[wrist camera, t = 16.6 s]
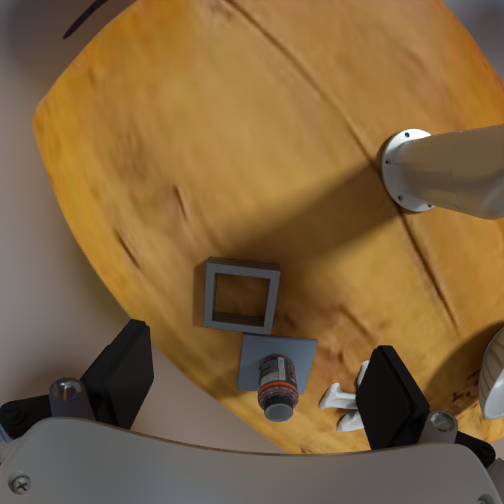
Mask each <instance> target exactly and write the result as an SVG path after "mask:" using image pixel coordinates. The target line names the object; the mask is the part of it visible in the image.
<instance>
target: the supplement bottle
mask: <svg viewBox="0 0 504 504" xmlns="http://www.w3.org/2000/svg"><path fill="white" fill-rule="evenodd" d="M258 403H259V405H260V407H261V408H262V409H263V410H264V414H265V417H266V418H267V419H269V420H270V421H274V422H282V421H286V420H288V419H289V418H291V416H292V415H293V408H294V407H295V406H296V405H297V403H298V389H297V382H296V375H295V367H294V364H293V362H292V360H291V359H290V358H288V357H287V356H284V355H279V354H275V355H270V356H268V357H266V358H265V359H264V360H262V362H261V364H260V366H259V380H258Z"/></svg>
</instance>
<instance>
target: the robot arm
mask: <svg viewBox="0 0 504 504" xmlns="http://www.w3.org/2000/svg"><path fill="white" fill-rule="evenodd" d="M405 135H406V137H405ZM386 161H387V164H386ZM381 174H382V180H383V182H384V185H385V188H386V190H387V192H388V193H389V195H390V196H391V198H392V199H393V200H394V201H395V202H396V203H397V204H398V205H400V206H401V207H403V208H405V209H407V210H410V211H415V212H424V211H428V210H430V209H432V208H434V207H436V206H437V207H441V208H445V209H449V210H453V211H457V212H460V213H464V214H468V215H471V216H475V217H479V218H482V219H487V220H496V219H500V218H503V217H504V124H501V125H496V126H490V127H484V128H477V129H470V130H463V131H456V132H449V133H443V134H437V135H431V134H429V133H428V132H425V131H423V130H420V129H406V130H403V131H400V132H398V133H397V134H395V135H394V136H392V138H391V139H390V140H389V141H388V142H387V144H386V146H385V148H384V151H383V154H382V159H381ZM398 196H399V199H398ZM427 204H428V205H427ZM153 379H154V373H153V363H152V352H151V339H150V327H149V326H147V325H146V323H145V322H144V321H140V320H135V319H131V320H130V321H129V322H128V324H127V325H126V326H125V327H124V328H123V330H122V331H121V332H120V333H119V334H118V336H117V337H116V338H115V339H114V340H113V342H112V343H111V344H110V345H108V346H106V348H105V349H104V350H103V351H102V352H101V354H100V355H99V356H98V357H97V359H96V360H95V361H94V363H92V365H91V366H90V367H89V369H88V370H87V371H86V372H85V374H84V375H83V376H82V377H81V378H80V380H78V379H76V378H72V377H63V378H60V379H57V380H56V381H54V382H53V383H52V384H51V385H50V387H49V394H48V395H43V396H38V397H33V398H27V399H22V400H16V401H10V402H7V403H5V404H3V405H2V406H1V408H0V504H504V460H502V459H501V458H498V459H497V460H496V459H495V456H496V454H495V451H494V449H493V447H492V446H491V445H490V444H488V443H487V442H484V441H482V440H479V439H477V438H474V437H472V436H469V435H467V434H464V433H462V432H460V431H457V429H458V422H457V420H456V418H455V417H454V416H453V415H452V414H451V413H449V412H447V411H444V410H435V411H432V412H430V410H429V407H430V405H429V403H428V402H427V400H426V398H425V397H424V395H423V393H422V392H421V390H420V389H419V387H418V385H417V384H416V382H415V381H414V379H413V377H412V376H411V374H410V373H409V371H408V369H407V368H406V366H405V365H404V363H403V362H402V360H401V359H400V357H399V356H398V354H397V353H396V351H395V350H394V348H393V347H392V346H390V345H380V346H378V347H377V349H374V350H373V352H372V355H371V358H370V360H369V363H368V366H367V368H366V371H365V373H364V376H363V378H362V381H361V383H360V386H359V388H358V391H357V393H356V396H355V402H356V405H357V408H358V411H359V414H360V417H361V420H362V423H363V426H364V429H365V432H366V435H367V438H368V441H369V444H370V447H371V450H367V451H357V452H345V453H326V454H278V453H259V452H247V451H236V450H228V449H220V448H212V447H205V446H200V445H194V444H188V443H183V442H178V441H173V440H168V439H164V438H159V437H155V436H151V435H147V434H143V433H139V432H135V431H132V430H130V428H131V426H132V424H133V422H134V420H135V418H136V416H137V414H138V411H139V410H140V407H141V405H142V403H143V401H144V399H145V397H146V395H147V393H148V391H149V389H150V387H151V385H152V383H153Z"/></svg>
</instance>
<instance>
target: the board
mask: <svg viewBox="0 0 504 504" xmlns="http://www.w3.org/2000/svg"><path fill="white" fill-rule="evenodd" d="M317 343H318V340H317V339H303V338H290V337H279V336H268V335H258V334H249V333H244V335H243V344H242V353H241V362H240V370H239V379H238V388H237V389H241V390H250V391H258V380H259V366H260V364H261V362H262V360H264V359H265V358H266V357H268V356H270V355H275V354H279V355H284V356H287V357H288V358H290V359H291V360H292V362H293V364H294V367H295V375H296V382H297V389H298V394H303V393H304V390H305V386H306V383H307V379H308V376H309V373H310V369H311V365H312V362H313V358H314V354H315V351H316V347H317Z"/></svg>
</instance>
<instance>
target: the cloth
mask: <svg viewBox="0 0 504 504" xmlns="http://www.w3.org/2000/svg"><path fill="white" fill-rule="evenodd" d="M368 363H369V361H365V362H364V363H363V364H362V368H361V372H360V375H359V377H358V380H357V385H358V388H359V386H360V383H361V381H362V378H363V376H364V373H365V371H366V368H367V366H368ZM357 391H358V389H357ZM355 396H356V394H354V393H349V392H345V391H343V390H342V389H340V384H339V383H334V384H332V386H330V388H329V389H328V390H327V392H326V395H325V396H324V397H323V399H322V401H321V402H320V405H319V408H320V409H321V410H322V409H326V408H329V407H336V408H344V409H353V410H352V411H350V412H348V413H346V414H345V416H344V417H343V419H342V420H341V421H340V422H339V426H338V427H337V429H336V431H342V432H346V431H352V430H357V429H361V428H364V426H363V423H362V420H361V417H360V414H359V411H358V408H357V405H356V402H355Z"/></svg>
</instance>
